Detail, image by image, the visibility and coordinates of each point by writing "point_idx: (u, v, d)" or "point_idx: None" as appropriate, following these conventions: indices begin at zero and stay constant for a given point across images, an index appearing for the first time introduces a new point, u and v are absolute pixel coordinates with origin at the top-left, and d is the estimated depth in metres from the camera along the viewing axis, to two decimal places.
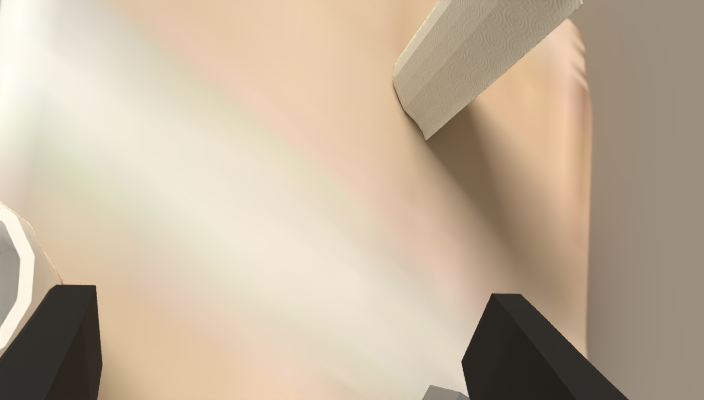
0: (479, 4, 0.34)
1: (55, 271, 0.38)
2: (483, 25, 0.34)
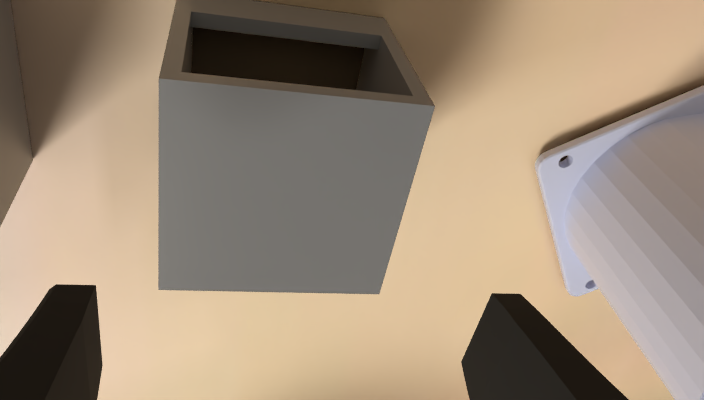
0: None
1: None
2: None
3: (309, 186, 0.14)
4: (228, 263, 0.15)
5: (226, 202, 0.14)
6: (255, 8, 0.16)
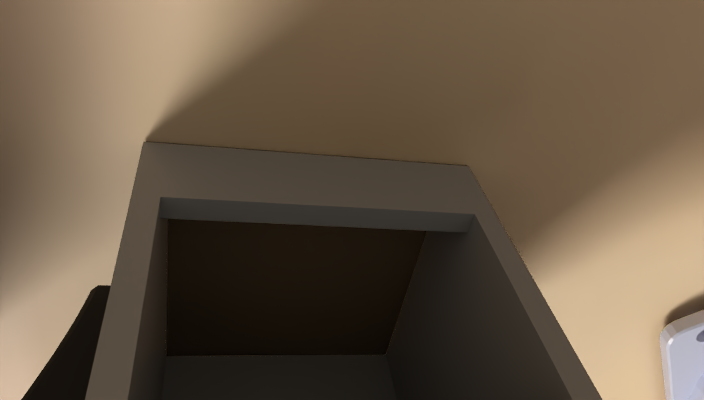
0: None
1: None
2: None
3: None
4: None
5: None
6: (269, 172, 0.10)
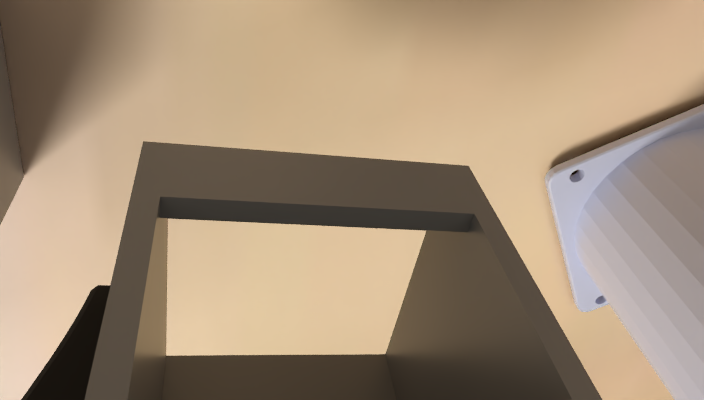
0: None
1: None
2: None
3: None
4: None
5: None
6: (269, 171, 0.10)
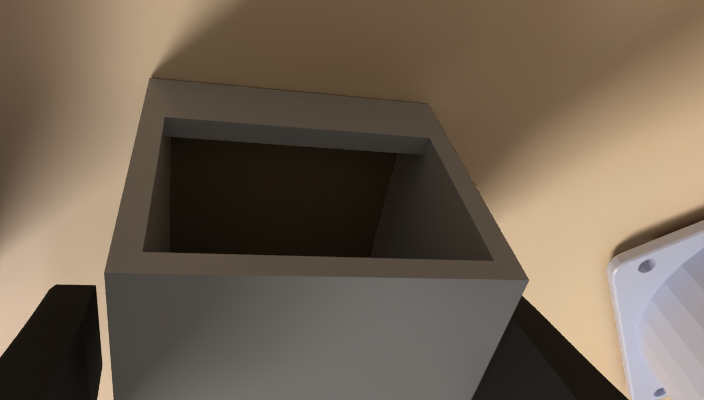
0: None
1: None
2: None
3: (338, 385, 0.09)
4: None
5: None
6: (255, 102, 0.12)
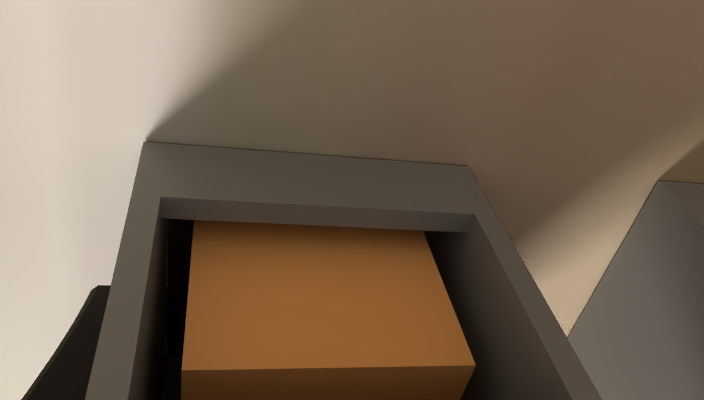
0: None
1: None
2: None
3: None
4: None
5: None
6: None
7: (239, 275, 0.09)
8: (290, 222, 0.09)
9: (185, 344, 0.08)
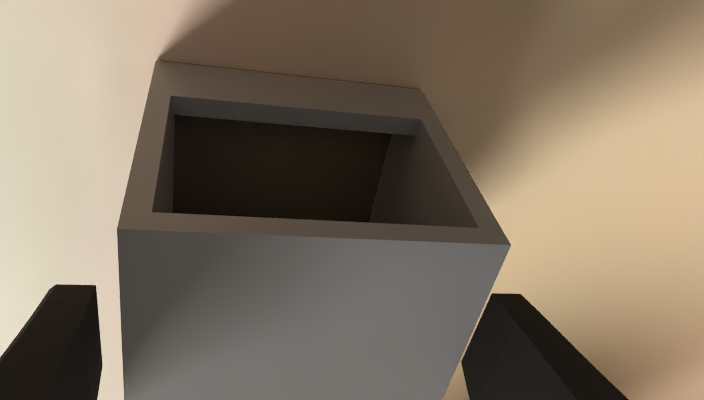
0: None
1: None
2: None
3: None
4: None
5: None
6: None
7: None
8: (273, 122, 0.12)
9: None
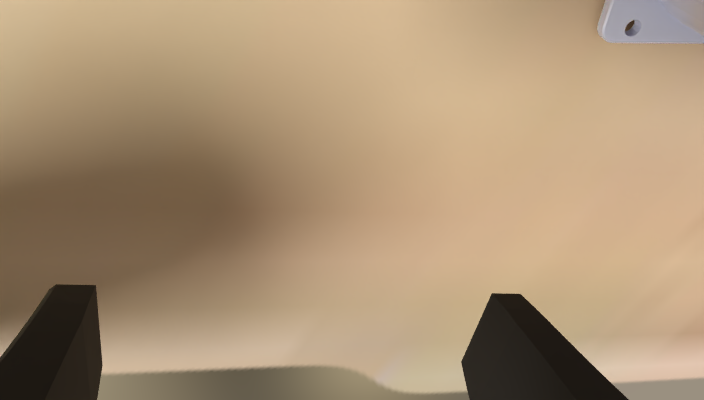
0: None
1: None
2: None
3: None
4: None
5: None
6: None
7: None
8: None
9: None
